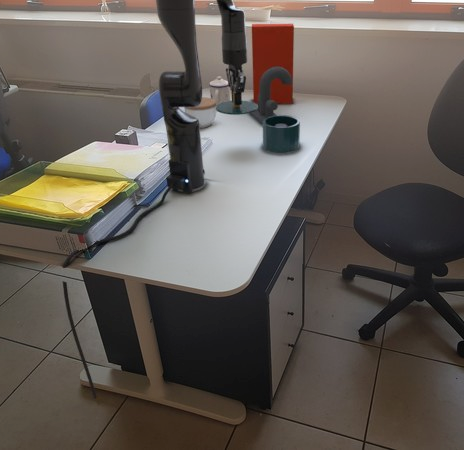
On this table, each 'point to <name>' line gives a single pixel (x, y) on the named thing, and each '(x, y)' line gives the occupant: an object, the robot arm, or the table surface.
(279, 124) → the glue stick
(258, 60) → the file binder
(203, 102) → the lidded bowl
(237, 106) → the tin lid
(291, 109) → the table surface
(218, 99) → the teacup with lid
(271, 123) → the tin
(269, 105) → the faucet
